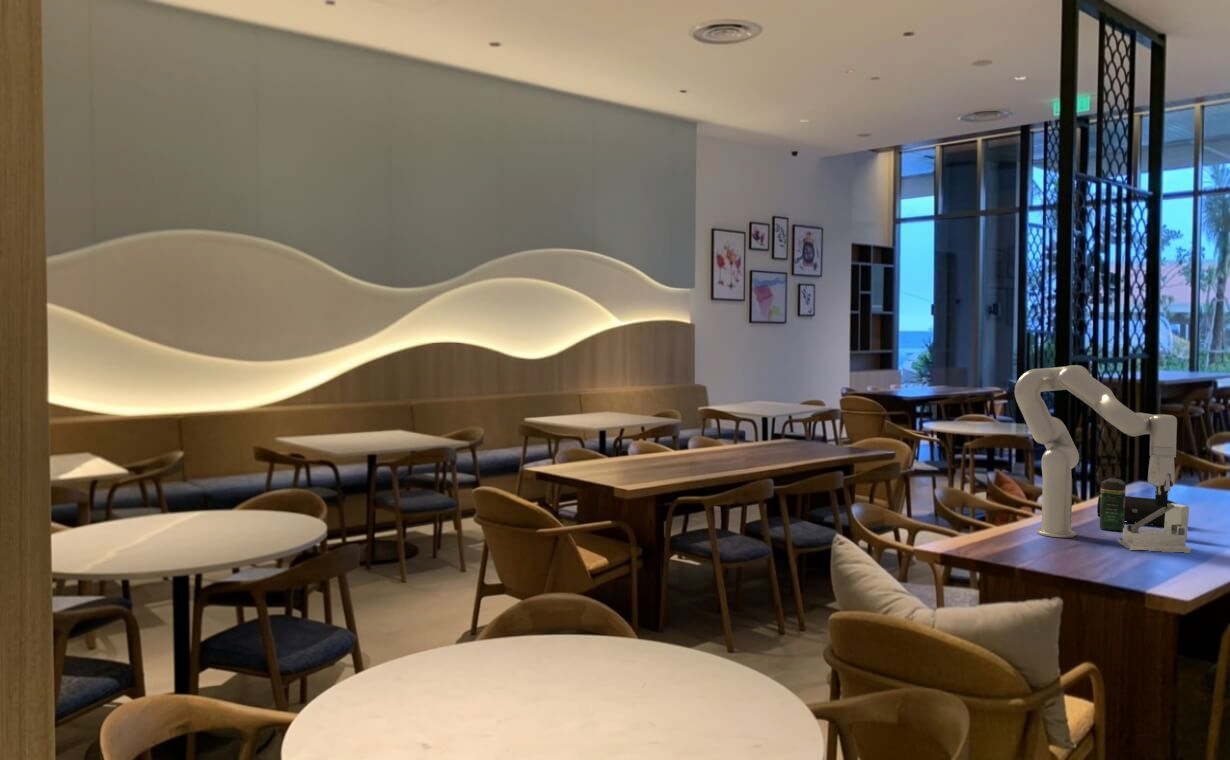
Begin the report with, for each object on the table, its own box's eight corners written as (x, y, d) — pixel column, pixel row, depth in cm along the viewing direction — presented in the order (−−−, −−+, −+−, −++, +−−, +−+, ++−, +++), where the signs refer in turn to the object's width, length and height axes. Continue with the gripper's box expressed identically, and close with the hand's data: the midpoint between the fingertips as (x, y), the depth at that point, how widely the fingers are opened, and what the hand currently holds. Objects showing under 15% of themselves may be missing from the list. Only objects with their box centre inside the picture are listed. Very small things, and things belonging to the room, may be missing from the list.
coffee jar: (1122, 532, 327) (1124, 481, 326) (1098, 530, 332) (1099, 479, 331) (1125, 528, 335) (1127, 478, 334) (1101, 525, 340) (1103, 476, 339)
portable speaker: (1096, 521, 349) (1097, 495, 348) (1101, 517, 356) (1101, 492, 356) (1174, 529, 333) (1174, 502, 333) (1176, 525, 341) (1177, 499, 341)
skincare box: (1162, 538, 318) (1164, 503, 318) (1170, 536, 320) (1171, 502, 320) (1180, 541, 313) (1181, 506, 312) (1188, 540, 315) (1189, 505, 314)
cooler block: (1117, 542, 311) (1118, 520, 311) (1175, 545, 308) (1175, 523, 307) (1130, 550, 299) (1131, 528, 299) (1190, 553, 296) (1191, 530, 295)
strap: (1130, 529, 306) (1128, 526, 306) (1171, 505, 303) (1169, 502, 303) (1133, 531, 303) (1132, 528, 303) (1175, 507, 300) (1173, 504, 300)
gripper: (1141, 448, 310) (1140, 502, 310) (1159, 454, 295) (1157, 510, 296) (1165, 449, 308) (1164, 503, 309) (1184, 454, 293) (1183, 511, 294)
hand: (1161, 506), depth 302 cm, fingers closed
